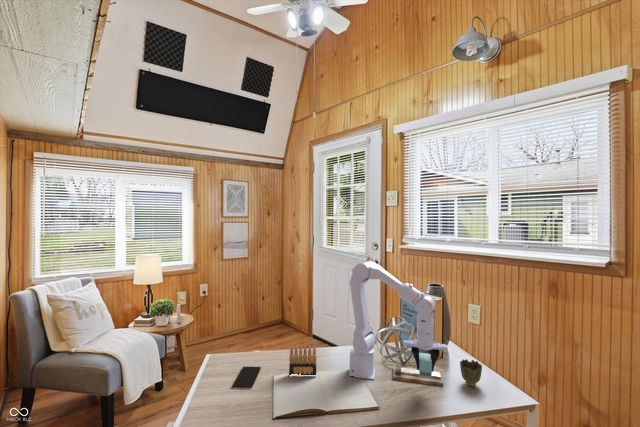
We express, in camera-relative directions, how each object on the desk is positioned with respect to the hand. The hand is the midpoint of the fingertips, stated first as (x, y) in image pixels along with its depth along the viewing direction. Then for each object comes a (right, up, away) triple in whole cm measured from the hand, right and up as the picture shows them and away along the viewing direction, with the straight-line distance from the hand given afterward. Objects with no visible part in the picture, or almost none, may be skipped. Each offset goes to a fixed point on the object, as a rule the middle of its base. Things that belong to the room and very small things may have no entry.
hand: (424, 369), depth 111 cm
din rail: (+1, -7, +11) cm, 13 cm away
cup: (+19, -9, +6) cm, 22 cm away
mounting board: (+1, -8, +11) cm, 14 cm away
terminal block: (0, -2, 0) cm, 2 cm away
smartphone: (-65, -8, +9) cm, 66 cm away
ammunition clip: (-44, -8, +11) cm, 46 cm away
